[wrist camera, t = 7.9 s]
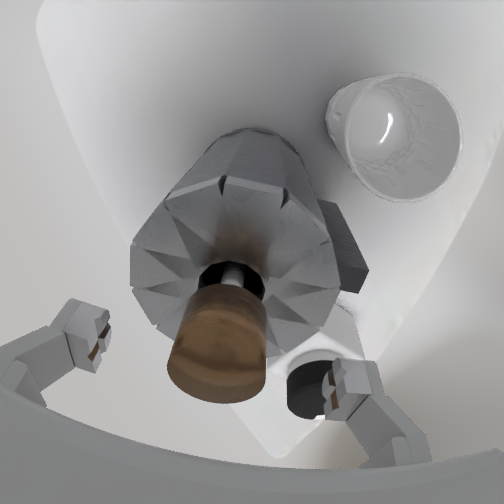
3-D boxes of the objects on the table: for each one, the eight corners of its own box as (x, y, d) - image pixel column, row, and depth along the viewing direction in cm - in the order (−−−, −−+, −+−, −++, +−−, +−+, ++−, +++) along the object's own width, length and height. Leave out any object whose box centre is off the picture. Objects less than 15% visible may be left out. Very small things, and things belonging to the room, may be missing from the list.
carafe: (208, 118, 25) (132, 161, 11) (343, 150, 26) (421, 230, 12) (191, 218, 30) (129, 338, 16) (312, 245, 30) (339, 378, 17)
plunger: (216, 141, 24) (108, 268, 8) (301, 160, 24) (358, 321, 8) (202, 218, 27) (123, 403, 11) (279, 235, 27) (286, 435, 11)
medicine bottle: (267, 323, 36) (264, 412, 25) (309, 284, 33) (323, 374, 22) (311, 349, 38) (319, 433, 27) (354, 315, 35) (377, 400, 24)
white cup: (299, 110, 24) (315, 124, 16) (368, 59, 22) (419, 48, 13) (354, 179, 27) (391, 227, 18) (418, 131, 24) (480, 157, 15)
